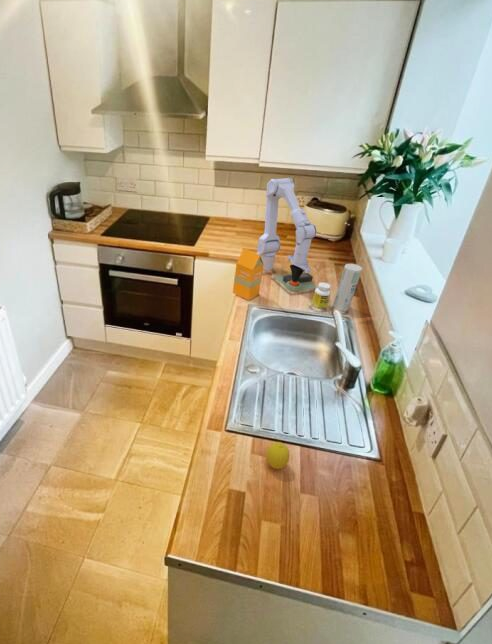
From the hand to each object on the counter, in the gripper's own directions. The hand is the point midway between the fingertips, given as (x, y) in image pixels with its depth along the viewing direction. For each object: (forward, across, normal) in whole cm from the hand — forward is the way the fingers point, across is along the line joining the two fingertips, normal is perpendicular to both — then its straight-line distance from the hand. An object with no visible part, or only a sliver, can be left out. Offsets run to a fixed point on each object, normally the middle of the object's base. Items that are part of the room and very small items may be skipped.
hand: (294, 280), depth 177 cm
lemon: (+5, -79, +57) cm, 97 cm away
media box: (+5, +5, -4) cm, 8 cm away
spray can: (+5, -20, -10) cm, 23 cm away
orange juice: (+5, +3, +22) cm, 23 cm away
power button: (+2, 0, 0) cm, 2 cm away
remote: (+4, +6, -6) cm, 9 cm away
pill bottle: (+5, -16, -2) cm, 17 cm away
